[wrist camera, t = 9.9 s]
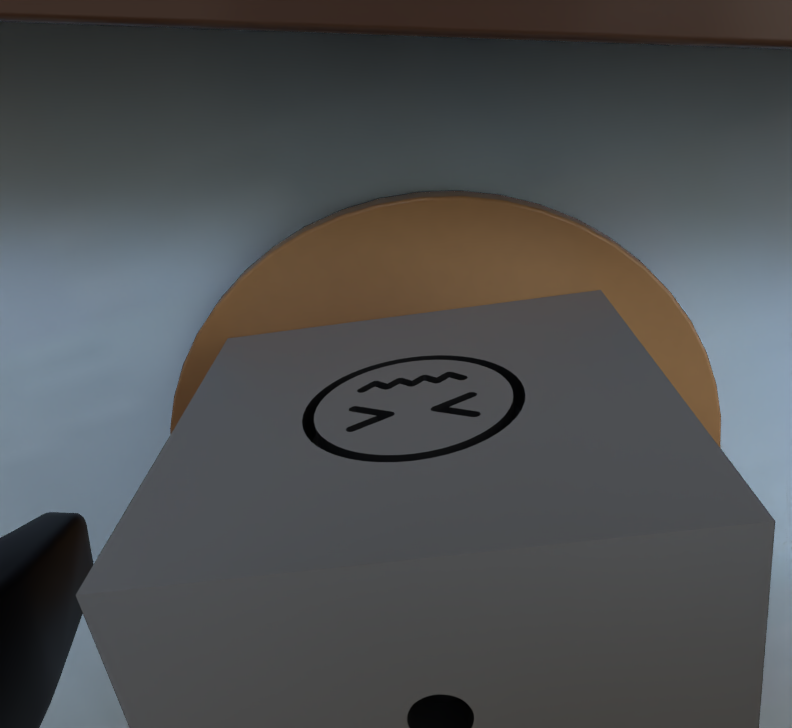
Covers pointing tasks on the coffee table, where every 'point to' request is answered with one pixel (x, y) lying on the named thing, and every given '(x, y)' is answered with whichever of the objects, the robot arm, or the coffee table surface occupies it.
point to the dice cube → (438, 537)
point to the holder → (447, 18)
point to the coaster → (449, 280)
